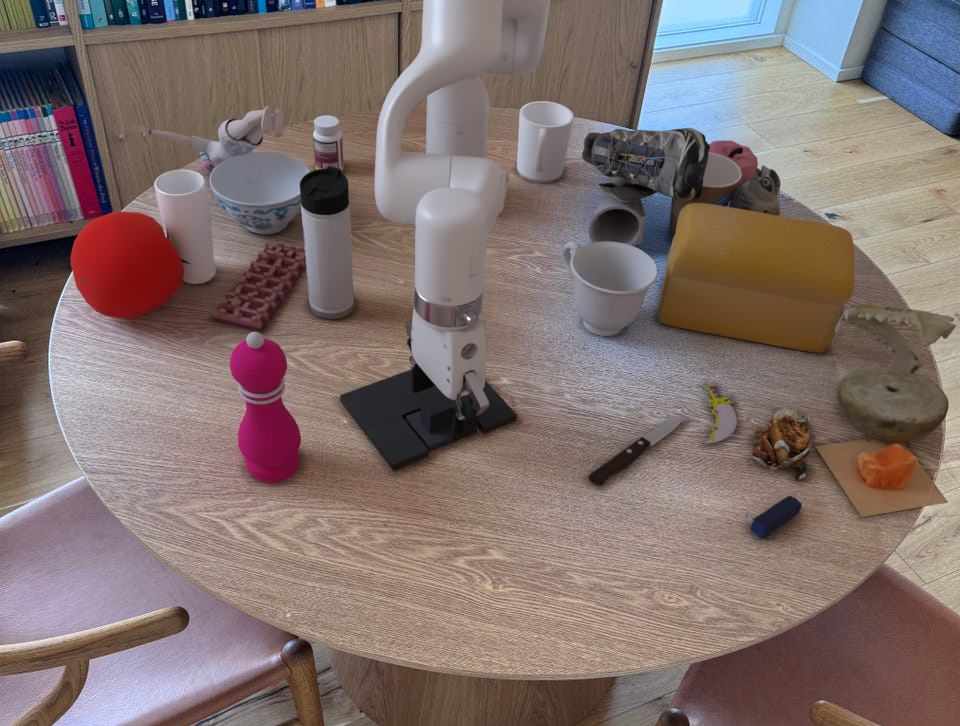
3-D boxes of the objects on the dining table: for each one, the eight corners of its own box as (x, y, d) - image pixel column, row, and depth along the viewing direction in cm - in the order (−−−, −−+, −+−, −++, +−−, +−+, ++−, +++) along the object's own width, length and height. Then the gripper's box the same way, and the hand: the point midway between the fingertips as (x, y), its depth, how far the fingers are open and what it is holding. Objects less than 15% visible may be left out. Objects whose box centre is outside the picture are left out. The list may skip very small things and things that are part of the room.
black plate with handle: (452, 404, 122) (454, 380, 119) (477, 433, 118) (479, 408, 115) (405, 422, 119) (406, 398, 116) (429, 452, 116) (430, 428, 112)
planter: (583, 140, 161) (591, 203, 142) (633, 143, 162) (648, 207, 142) (577, 183, 167) (585, 251, 147) (626, 186, 167) (640, 254, 147)
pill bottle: (326, 158, 161) (323, 111, 155) (349, 166, 160) (347, 119, 153) (309, 169, 158) (305, 122, 152) (332, 178, 157) (329, 130, 151)
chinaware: (274, 261, 140) (269, 215, 134) (196, 228, 144) (188, 183, 138) (334, 216, 149) (331, 171, 143) (258, 186, 153) (253, 142, 148)
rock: (814, 447, 121) (825, 423, 117) (897, 435, 123) (910, 411, 120) (861, 517, 113) (874, 494, 110) (948, 502, 115) (964, 479, 112)
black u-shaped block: (459, 358, 128) (459, 351, 127) (516, 421, 120) (517, 414, 119) (340, 401, 121) (339, 394, 120) (393, 471, 113) (393, 464, 112)
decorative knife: (743, 443, 119) (704, 441, 119) (742, 446, 120) (703, 444, 119) (730, 384, 127) (693, 382, 127) (729, 387, 127) (692, 385, 127)
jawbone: (916, 362, 133) (909, 403, 129) (825, 330, 135) (815, 369, 130) (961, 302, 123) (955, 344, 119) (862, 268, 125) (853, 308, 120)
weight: (828, 360, 126) (820, 390, 130) (858, 418, 116) (847, 450, 119) (929, 361, 126) (918, 392, 130) (968, 419, 116) (954, 451, 119)
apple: (754, 194, 162) (771, 140, 154) (736, 216, 157) (752, 161, 149) (703, 176, 165) (718, 122, 158) (683, 197, 160) (697, 142, 152)
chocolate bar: (314, 257, 141) (313, 246, 140) (261, 332, 129) (259, 320, 127) (269, 247, 142) (268, 236, 141) (212, 320, 130) (210, 309, 128)
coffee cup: (694, 262, 147) (713, 193, 138) (645, 232, 151) (660, 163, 143) (734, 240, 152) (755, 172, 143) (686, 211, 156) (703, 144, 148)
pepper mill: (245, 443, 115) (222, 312, 100) (304, 442, 115) (290, 312, 100) (240, 487, 110) (214, 356, 95) (302, 486, 111) (287, 356, 96)
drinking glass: (210, 292, 134) (193, 198, 123) (165, 284, 135) (144, 190, 124) (228, 265, 139) (213, 173, 127) (185, 258, 139) (166, 165, 128)
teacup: (584, 279, 142) (594, 221, 135) (661, 327, 135) (676, 269, 128) (529, 311, 136) (537, 252, 128) (607, 362, 129) (620, 303, 122)
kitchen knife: (600, 483, 112) (588, 474, 113) (599, 489, 113) (587, 479, 114) (691, 415, 122) (678, 407, 123) (689, 421, 122) (677, 413, 123)
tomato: (120, 337, 121) (212, 304, 129) (84, 231, 115) (183, 203, 122) (71, 319, 132) (159, 290, 139) (36, 221, 125) (130, 196, 133)
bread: (655, 324, 135) (678, 235, 124) (663, 274, 144) (685, 186, 133) (826, 356, 133) (865, 267, 122) (823, 303, 141) (859, 215, 130)
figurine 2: (701, 198, 139) (754, 148, 137) (725, 239, 156) (772, 195, 154) (739, 237, 136) (794, 186, 134) (759, 274, 154) (808, 230, 151)
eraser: (804, 503, 111) (767, 528, 108) (798, 516, 112) (761, 541, 109) (790, 492, 112) (753, 517, 109) (784, 504, 114) (747, 529, 110)
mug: (517, 154, 166) (522, 98, 158) (567, 161, 165) (575, 104, 158) (509, 186, 159) (515, 129, 151) (562, 193, 158) (570, 136, 150)
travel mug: (362, 298, 135) (357, 171, 121) (342, 324, 131) (335, 196, 116) (322, 287, 136) (313, 161, 122) (302, 313, 132) (290, 185, 117)
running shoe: (707, 222, 133) (631, 212, 129) (625, 199, 157) (559, 190, 154) (728, 132, 129) (650, 119, 125) (640, 122, 153) (573, 111, 149)
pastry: (811, 419, 124) (820, 399, 121) (805, 482, 116) (815, 462, 114) (758, 406, 125) (766, 386, 122) (749, 468, 117) (757, 448, 115)
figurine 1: (364, 161, 138) (289, 201, 164) (368, 122, 138) (292, 168, 163) (168, 108, 123) (118, 161, 148) (171, 63, 123) (121, 124, 148)
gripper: (520, 333, 101) (506, 444, 113) (437, 250, 110) (433, 362, 123) (460, 354, 98) (453, 466, 110) (380, 268, 107) (382, 380, 120)
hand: (443, 411), depth 116 cm, fingers open, 9 cm apart
